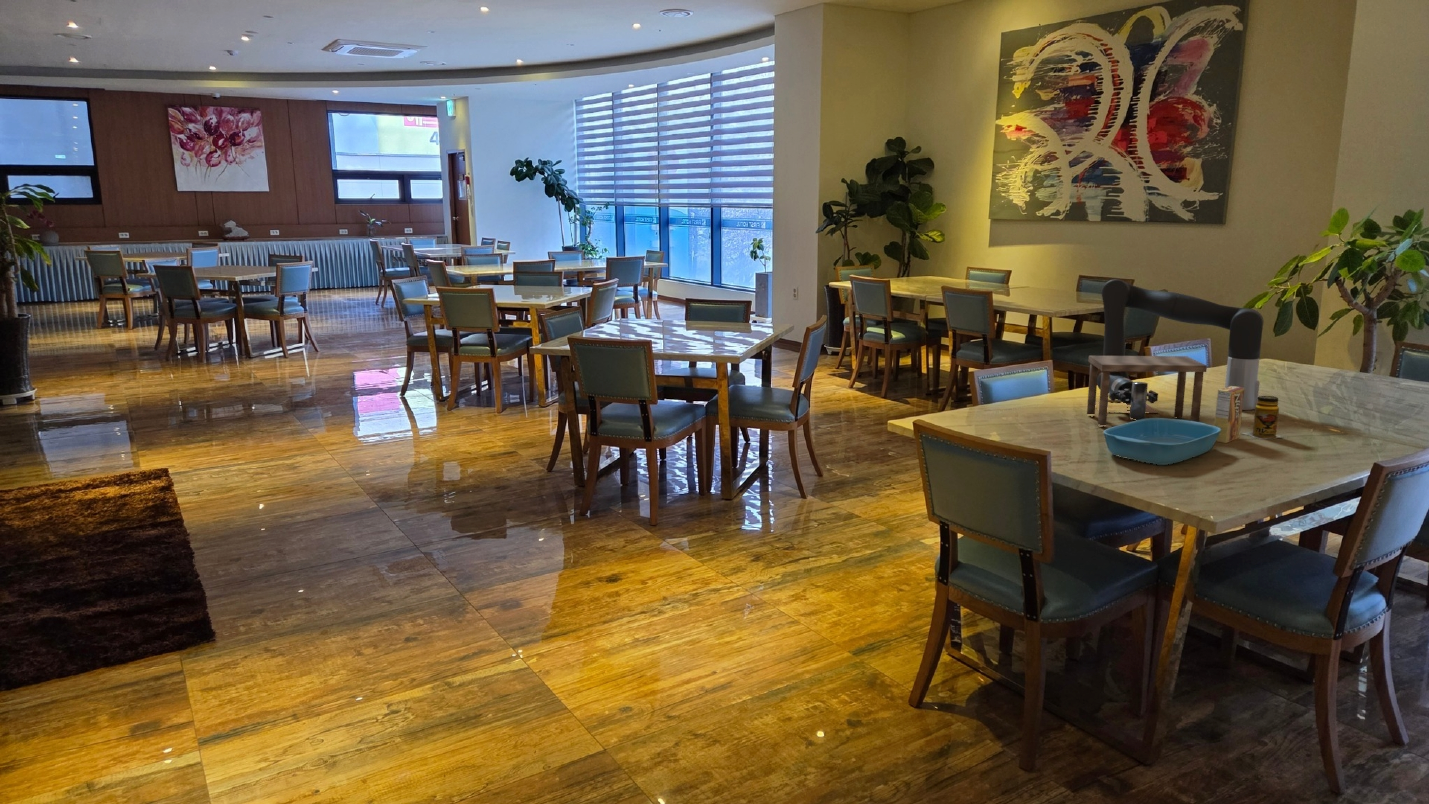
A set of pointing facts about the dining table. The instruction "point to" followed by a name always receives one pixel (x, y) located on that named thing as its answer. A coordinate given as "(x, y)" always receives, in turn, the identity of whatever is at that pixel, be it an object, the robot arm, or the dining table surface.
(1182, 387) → the low stand
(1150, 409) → the rubber mat
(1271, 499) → the dining table surface
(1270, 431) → the condiment
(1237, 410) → the candy box
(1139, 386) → the metal canister
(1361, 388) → the dining table surface
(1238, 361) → the robot arm
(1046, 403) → the dining table surface
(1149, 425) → the casserole dish
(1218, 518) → the dining table surface
